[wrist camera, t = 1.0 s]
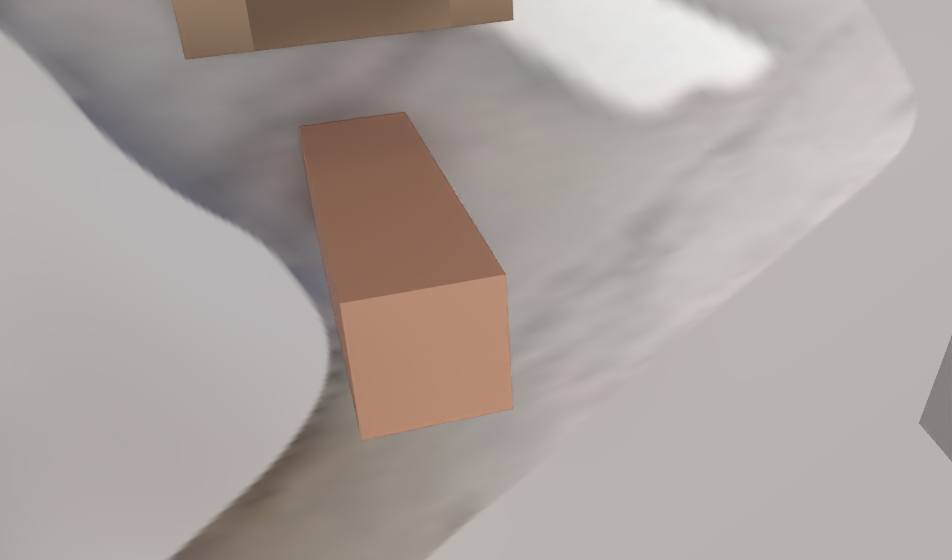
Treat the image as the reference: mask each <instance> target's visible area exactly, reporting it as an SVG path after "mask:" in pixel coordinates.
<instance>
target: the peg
mask: <svg viewBox="0 0 952 560" xmlns="http://www.w3.org/2000/svg"><path fill="white" fill-rule="evenodd" d="M299 132H300V138H301V144H302V150H303V156H304V162H305V168H306V174H307V180H308V186H309V192H310V198H311V204H312V210H313V216H314V222H315V228H316V232H317V237H318V241H319V246H320V251H321V255H322V260H323V264H324V269H325V274H326V278H327V283H328V288H329V292H330V297H331V301H332V306H333V311H334V315H335V320H336V324H337V329H338V334H339V338H340V343H341V348H342V352H343V357H344V361H345V366H346V371H347V375H348V380H349V385H350V389H351V394H352V398H353V403H354V408H355V412H356V417H357V421H358V426H359V431H360V435H361V440H366V439H371V438H376V437H381V436H386V435H390V434H395V433H400V432H405V431H410V430H415V429H419V428H424V427H429V426H434V425H439V424H444V423H448V422H453V421H458V420H463V419H468V418H473V417H478V416H482V415H487V414H492V413H497V412H502V411H507V410H511V409H513V397H512V379H511V361H510V343H509V324H508V306H507V288H506V274H505V272H504V271H503V269H502V268H501V266H500V264H499V263H498V261H497V259H496V258H495V256H494V255H493V253H492V251H491V250H490V248H489V247H488V245H487V243H486V242H485V240H484V239H483V237H482V235H481V234H480V232H479V231H478V229H477V227H476V226H475V224H474V223H473V221H472V219H471V218H470V216H469V215H468V213H467V211H466V210H465V208H464V206H463V205H462V203H461V202H460V200H459V198H458V197H457V195H456V194H455V192H454V190H453V189H452V187H451V186H450V184H449V182H448V181H447V179H446V178H445V176H444V174H443V173H442V171H441V170H440V168H439V166H438V165H437V163H436V162H435V160H434V158H433V157H432V155H431V153H430V152H429V150H428V149H427V147H426V145H425V144H424V142H423V141H422V139H421V137H420V136H419V134H418V133H417V131H416V129H415V128H414V126H413V125H412V123H411V121H410V120H409V118H408V117H407V115H406V113H405V112H402V113H394V114H387V115H380V116H372V117H365V118H358V119H351V120H343V121H336V122H329V123H321V124H314V125H307V126H300V127H299Z"/></svg>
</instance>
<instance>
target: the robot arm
mask: <svg viewBox="0 0 952 560" xmlns="http://www.w3.org/2000/svg"><path fill="white" fill-rule="evenodd" d="M919 424H920V425H921V426H922V427H923V428H924V430H925V431H926V432H927V433H928V434H929V435H930V437H931V438H932V439H933V440H934V441H935V442H936V444H937V445H938V446H939V447H940V448H941V449H942V451H944V453H945V454H946V455H947V456H948V458H949V459H950V460H951V461H952V337H951V339H950V342H949V345H948V347H947V350H946V353H945V355H944V358H943V361H942V363H941V366H940V369H939V371H938V374H937V376H936V379H935V382H934V384H933V387H932V390H931V393H930V395H929V398H928V400H927V403H926V406H925V408H924V411H923V414H922V416H921V419H920V422H919Z"/></svg>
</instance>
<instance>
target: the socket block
mask: <svg viewBox="0 0 952 560" xmlns="http://www.w3.org/2000/svg"><path fill="white" fill-rule="evenodd" d="M172 2H173V7H174V11H175V16H176V20H177V25H178V29H179V34H180V38H181V43H182V47H183V52H184V56H185V59H193V58H202V57H210V56H218V55H227V54H235V53H243V52H252V51H260V50H268V49H277V48H285V47H293V46H302V45H310V44H318V43H327V42H335V41H343V40H352V39H360V38H368V37H377V36H385V35H393V34H402V33H410V32H418V31H427V30H435V29H443V28H451V27H460V26H468V25H476V24H485V23H493V22H501V21H510V20H513V1H512V0H172Z"/></svg>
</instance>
